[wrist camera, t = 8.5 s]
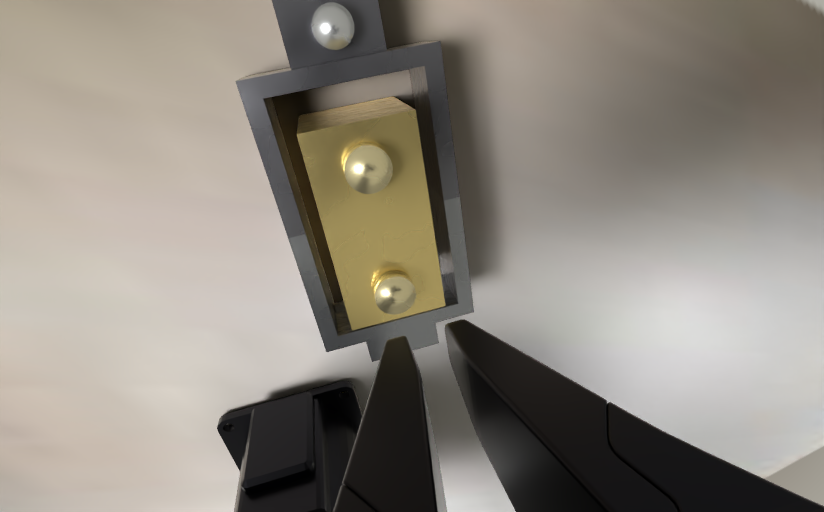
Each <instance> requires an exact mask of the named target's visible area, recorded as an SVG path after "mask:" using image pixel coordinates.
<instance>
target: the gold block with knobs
mask: <svg viewBox="0 0 824 512" xmlns="http://www.w3.org/2000/svg"><path fill="white" fill-rule="evenodd" d="M296 135H297V138H298V142H299V145H300V149H301V152H302V156H303V159H304V163H305V166H306V170H307V173H308V177H309V180H310V184H311V187H312V191H313V194H314V198H315V202H316V205H317V209H318V212H319V216H320V219H321V223H322V226H323V230H324V233H325V237H326V240H327V244H328V247H329V251H330V254H331V258H332V262H333V265H334V269H335V272H336V276H337V279H338V283H339V286H340V290H341V293H342V297H343V300H344V304H345V307H346V311H347V314H348V318H349V321H350V325H351V329H352V330H356V329H360V328H364V327H367V326H371V325H375V324H379V323H383V322H386V321H390V320H394V319H398V318H402V317H405V316H409V315H413V314H417V313H421V312H424V311H428V310H432V309H436V308H440V307H443V306H445V299H444V292H443V286H442V279H441V273H440V266H439V260H438V253H437V247H436V240H435V233H434V227H433V220H432V214H431V207H430V201H429V194H428V188H427V181H426V175H425V168H424V161H423V155H422V148H421V142H420V135H419V129H418V122H417V116H416V110H415V109H414V108H412V107H410V106H408V105H407V104H405V103H403V102H402V101H400V100H398V99H397V98H395V97H393V96H392V97H387V98H382V99H378V100H373V101H368V102H363V103H358V104H353V105H348V106H343V107H338V108H333V109H328V110H323V111H318V112H313V113H308V114H303V115H299V120H298V127H297V134H296Z"/></svg>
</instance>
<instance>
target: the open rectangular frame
mask: <svg viewBox="0 0 824 512" xmlns="http://www.w3.org/2000/svg"><path fill="white" fill-rule="evenodd" d="M272 2H273V6H274V9H275V13H276V17H277V20H278V24H279V27H280V31H281V35H282V38H283V42H284V46H285V49H286V53H287V56H288V60H289V64H290V68H285V69H280V70H275V71H270V72H265V73H260V74H255V75H250V76H246V77H244V78H241V79H239V80H237V81H236V84H237V87H238V90H239V93H240V96H241V99H242V102H243V105H244V108H245V111H246V114H247V117H248V120H249V123H250V126H251V129H252V132H253V135H254V138H255V141H256V144H257V147H258V150H259V153H260V156H261V159H262V161H263V164H264V167H265V170H266V173H267V176H268V179H269V182H270V185H271V188H272V191H273V194H274V197H275V200H276V203H277V206H278V209H279V212H280V215H281V218H282V221H283V224H284V227H285V230H286V233H287V236H288V239H289V242H290V245H291V248H292V251H293V254H294V257H295V260H296V263H297V266H298V269H299V272H300V275H301V277H302V280H303V283H304V286H305V289H306V292H307V295H308V298H309V301H310V304H311V307H312V310H313V313H314V316H315V319H316V322H317V325H318V328H319V331H320V334H321V337H322V340H323V343H324V346H325V349H326V352H329V351H333V350H336V349H340V348H344V347H347V346H351V345H355V344H358V343H362V342H367V345H368V349H369V353H370V356H371V360H372V362H373V361H377V360H380V358H381V355H382V352H383V349H384V346H385V343H386V341H387V340H389V339H393V338H397V337H400V336H406V337H407V339H408V341H409V344H410V346H411V349H412V350H416V349H419V348H423V347H427V346H430V345H434V344H437V343H439V341H438V335H437V330H436V324H435V322H439V321H443V320H446V319H450V318H453V317H457V316H461V315H464V314H468V313H472V312H474V308H473V300H472V292H471V283H470V275H469V267H468V259H467V251H466V243H465V235H464V227H463V219H462V211H461V203H460V195H459V187H458V179H457V171H456V163H455V154H454V146H453V138H452V130H451V122H450V114H449V106H448V98H447V90H446V82H445V74H444V66H443V58H442V50H441V42H440V41H427V42H418V43H413V44H408V45H402V46H397V47H392V48H386V42H385V37H384V31H383V25H382V20H381V14H380V9H379V3H378V0H272ZM407 69H409V71H410V78H411V84H412V90H413V97H414V103H415V109H416V116H417V122H418V128H419V134H420V141H421V147H422V153H423V160H424V166H425V172H426V179H427V185H428V191H429V197H430V204H431V210H432V216H433V223H434V229H435V235H436V242H437V248H438V254H439V260H440V267H441V273H442V275H441V279H442V286H443V292H444V299H445V306H443V307H440V308H436V309H432V310H428V311H424V312H421V313H417V314H413V315H409V316H405V317H402V318H398V319H394V320H390V321H386V322H383V323H379V324H375V325H371V326H367V327H364V328H360V329H356V330H352V329H351V325H350V321H349V318H348V314H347V311H346V307H345V304H344V301H341V302H337V303H334V300H333V297H332V294H331V291H330V287H329V284H328V281H327V277H326V274H325V271H324V268H323V264H322V261H321V258H320V254H319V251H318V248H317V245H316V241H315V238H314V235H313V232H312V228H311V225H310V222H309V218H308V215H307V212H306V209H305V205H304V202H303V199H302V195H301V192H300V189H299V186H298V182H297V179H296V176H295V172H294V169H293V166H292V163H291V159H290V156H289V153H288V149H287V146H286V143H285V140H284V136H283V133H282V130H281V126H280V123H279V120H278V117H277V113H276V110H275V107H274V104H273V100H272V97H274V96H279V95H283V94H288V93H293V92H298V91H303V90H308V89H313V88H318V87H323V86H328V85H333V84H338V83H343V82H348V81H352V80H357V79H362V78H367V77H372V76H377V75H382V74H387V73H392V72H397V71H402V70H407Z"/></svg>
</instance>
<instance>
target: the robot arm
mask: <svg viewBox="0 0 824 512" xmlns="http://www.w3.org/2000/svg"><path fill="white" fill-rule="evenodd" d="M445 334H446V340H447V346H448V352H449V358H450V362H451V365H452V368H453V371H454V374H455V377H456V379H457V382H458V385H459V387H460V390H461V393H462V396H463V398H464V401H465V404H466V407H467V409H468V412H469V415H470V418H471V420H472V423H473V426H474V428H475V431H476V433H477V435H478V437H479V440H480V442H481V444H482V446H483V448H484V450H485V452H486V454H487V456H488V458H489V460H490V462H491V464H492V466H493V468H494V470H495V471H496V473H497V475H498V477H499V479H500V481H501V483H502V485H503V487H504V489H505V491H506V493H507V495H508V497H509V499H510V501H511V503H512V505H513V507H514V509H515V511H516V512H824V506H823V505H820V504H818V503H815V502H813V501H811V500H809V499H806V498H804V497H802V496H799V495H798V494H795V493H793V492H791V491H789V490H787V489H784V488H782V487H780V486H778V485H776V484H774V483H772V482H769V481H767V480H765V479H763V478H761V477H759V476H757V475H754V474H752V473H750V472H748V471H746V470H744V469H742V468H739V467H737V466H735V465H733V464H731V463H729V462H726V461H724V460H722V459H720V458H718V457H716V456H714V455H711V454H709V453H707V452H705V451H703V450H701V449H699V448H697V447H695V446H693V445H690V444H688V443H686V442H684V441H682V440H680V439H678V438H676V437H674V436H672V435H670V434H668V433H666V432H664V431H662V430H660V429H658V428H656V427H654V426H653V425H651V424H649V423H647V422H645V421H643V420H642V419H640V418H638V417H636V416H634V415H632V414H630V413H629V412H627V411H625V410H623V409H622V408H620V407H618V406H616V405H615V404H613V403H611V402H610V403H608V404H607V401H606V400H605V399H604V398H602V397H600V396H598V395H597V394H595V393H593V392H591V391H590V390H588V389H586V388H584V387H583V386H581V385H579V384H577V383H576V382H574V381H572V380H570V379H569V378H567V377H565V376H563V375H562V374H560V373H558V372H556V371H555V370H553V369H551V368H549V367H548V366H546V365H544V364H542V363H541V362H539V361H537V360H535V359H534V358H532V357H530V356H528V355H526V354H525V353H523V352H521V351H519V350H518V349H516V348H514V347H512V346H511V345H509V344H507V343H505V342H504V341H502V340H500V339H498V338H497V337H495V336H493V335H491V334H490V333H488V332H486V331H484V330H483V329H481V328H479V327H477V326H476V325H474V324H472V323H470V322H469V321H467V320H464V319H463V320H458V321H455V322H451V323H448V324H446V325H445ZM342 391H347V392H346V393H341V392H342ZM226 424H233V425H226ZM217 429H218V432H219V434H220V436H221V437H222V439H223V441H224V443H225V445H226V447H227V448H228V450H229V452H230V454H231V456H232V458H233V459H234V461H235V463H236V465H237V467H238V469H239V470H240V478H239V484H238V490H237V496H236V503H235V509H234V512H447V507H446V501H445V495H444V489H443V483H442V477H441V471H440V465H439V459H438V454H437V448H436V444H435V439H434V434H433V430H432V425H431V420H430V415H429V411H428V406H427V401H426V397H425V392H424V387H423V382H422V378H421V374H420V370H419V367H418V365H417V362H416V360H415V357H414V354H413V352H412V349H411V346H410V344H409V341H408V339H407V337H406V336H400V337H397V338H393V339H389V340H387V341H386V343H385V346H384V349H383V352H382V355H381V358H380V362H379V365H378V368H377V371H376V375H375V378H374V381H373V384H372V388H371V391H370V394H369V397H368V400H367V404H366V407H365V410H364V413H363V414H362V411H361V408H360V404H359V401H358V398H357V395H356V392H355V388H354V386H353V384H352V383H351V382H349V381H341V382H337V383H334V384H330V385H327V386H323V387H320V388H316V389H313V390H309V391H306V392H302V393H298V394H295V395H291V396H288V397H284V398H281V399H277V400H274V401H270V402H267V403H263V404H259V405H256V406H252V407H249V408H245V409H242V410H238V411H235V412H231V413H228V414H225V415H223V416H222V417H221V418H220V419H219V422H218V427H217Z"/></svg>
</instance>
